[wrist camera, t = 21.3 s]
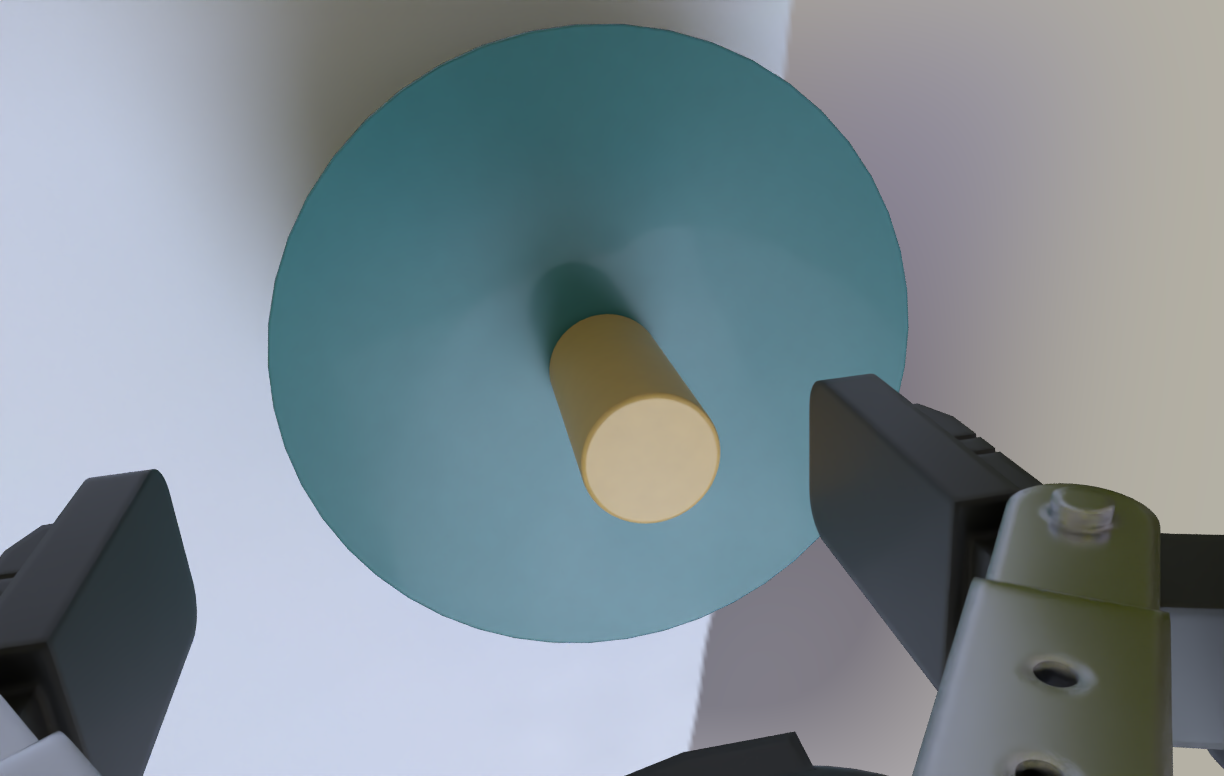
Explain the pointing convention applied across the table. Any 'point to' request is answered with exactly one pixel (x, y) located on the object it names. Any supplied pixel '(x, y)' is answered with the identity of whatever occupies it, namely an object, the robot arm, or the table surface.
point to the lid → (579, 329)
